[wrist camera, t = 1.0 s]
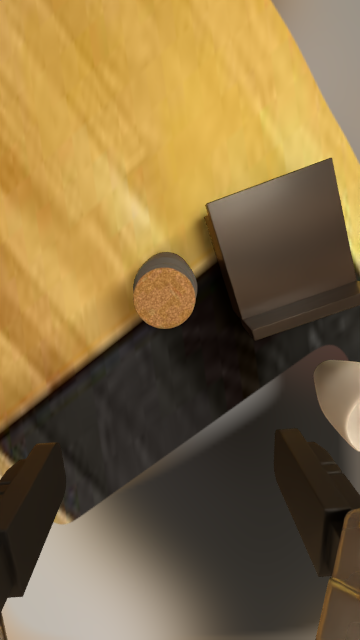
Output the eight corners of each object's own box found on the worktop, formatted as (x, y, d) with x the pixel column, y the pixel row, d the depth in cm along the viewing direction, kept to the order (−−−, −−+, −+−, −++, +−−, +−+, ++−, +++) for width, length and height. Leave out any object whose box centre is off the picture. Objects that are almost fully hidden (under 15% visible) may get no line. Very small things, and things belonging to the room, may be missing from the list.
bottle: (134, 264, 37) (111, 281, 23) (177, 243, 37) (183, 246, 22) (155, 307, 39) (147, 348, 24) (197, 287, 38) (215, 316, 24)
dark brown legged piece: (201, 208, 36) (211, 198, 27) (308, 169, 35) (355, 145, 26) (235, 318, 39) (254, 341, 31) (334, 284, 39) (383, 297, 30)
